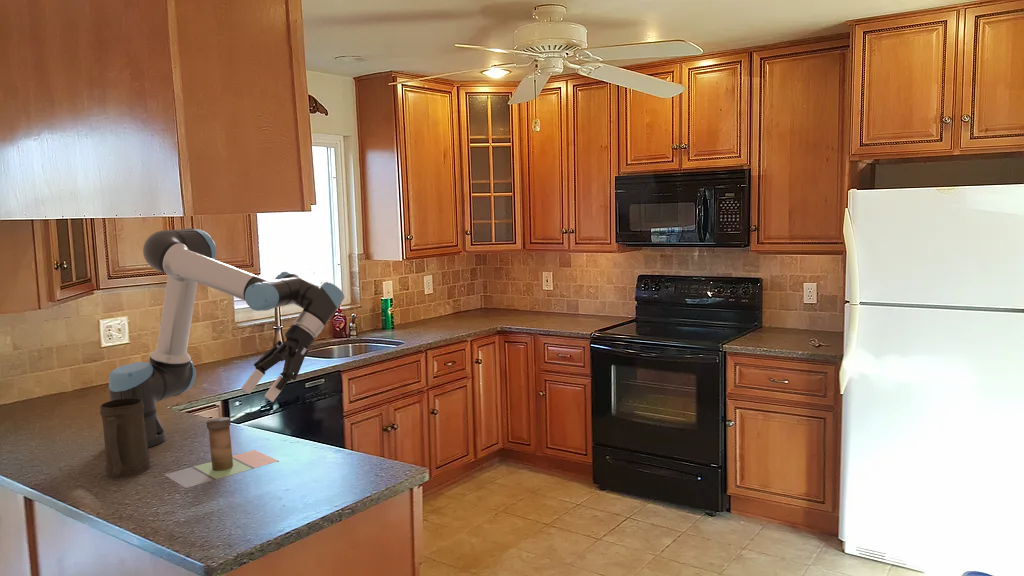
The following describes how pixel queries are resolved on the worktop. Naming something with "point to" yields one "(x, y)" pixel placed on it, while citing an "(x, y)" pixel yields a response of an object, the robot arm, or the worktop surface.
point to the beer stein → (125, 437)
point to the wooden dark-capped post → (220, 443)
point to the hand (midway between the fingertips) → (256, 395)
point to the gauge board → (206, 473)
